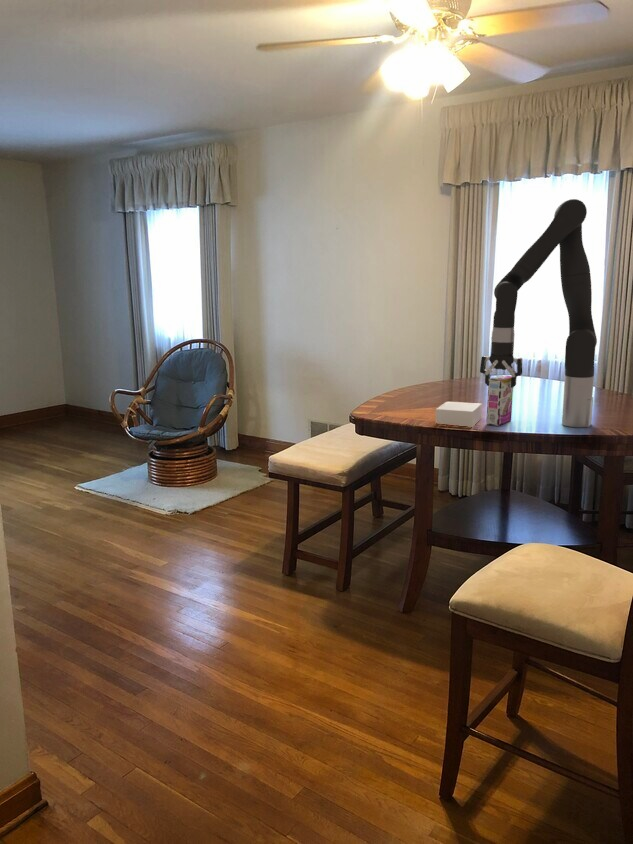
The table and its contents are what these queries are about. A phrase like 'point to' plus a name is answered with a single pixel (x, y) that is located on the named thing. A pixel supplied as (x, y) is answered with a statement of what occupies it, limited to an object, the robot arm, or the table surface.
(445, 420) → the white rectangular block
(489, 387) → the candy bar box
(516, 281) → the robot arm
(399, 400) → the table surface
